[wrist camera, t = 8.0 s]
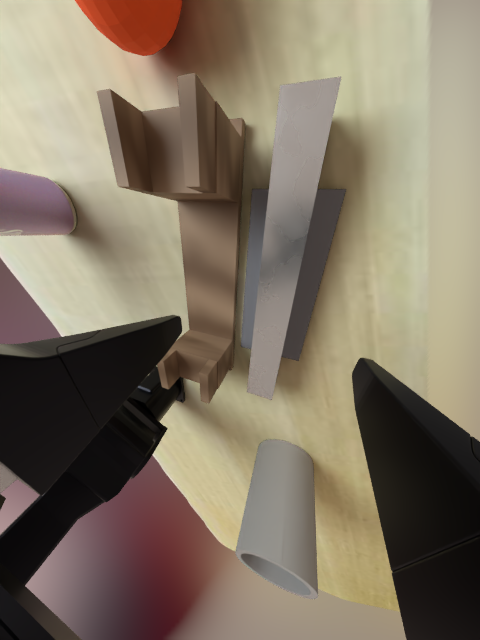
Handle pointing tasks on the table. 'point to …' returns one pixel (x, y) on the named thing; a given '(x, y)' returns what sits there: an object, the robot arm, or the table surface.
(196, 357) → the rack
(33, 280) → the table surface
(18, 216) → the beverage can
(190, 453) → the table surface
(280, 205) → the rail
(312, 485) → the cup
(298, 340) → the mat
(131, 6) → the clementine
